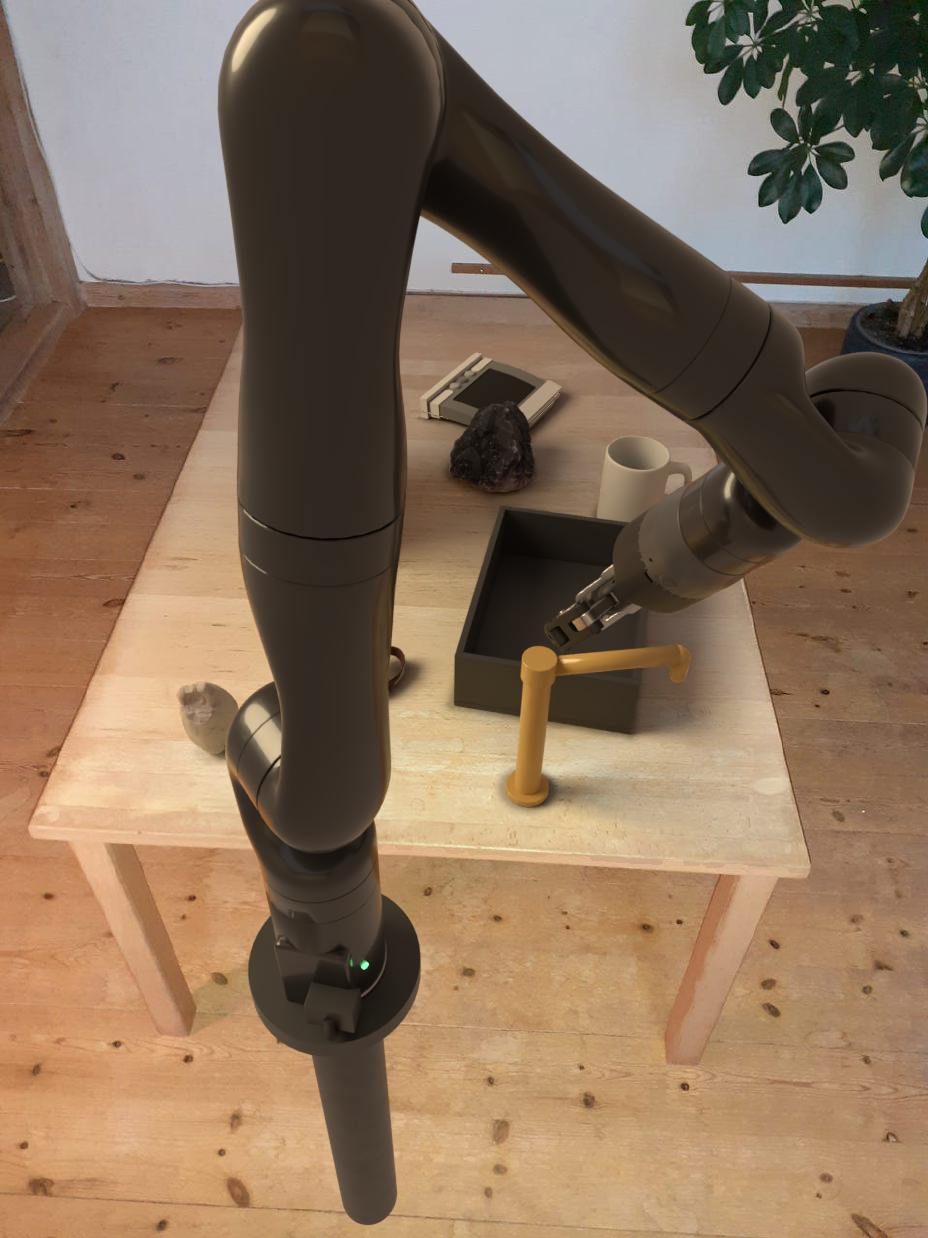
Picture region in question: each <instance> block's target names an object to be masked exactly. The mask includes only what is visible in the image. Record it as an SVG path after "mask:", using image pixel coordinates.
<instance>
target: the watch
mask: <svg viewBox="0 0 928 1238" xmlns="http://www.w3.org/2000/svg"><path fill="white" fill-rule="evenodd" d="M390 656H391V657H395V658H396V659H398V660H399V662H400V664H401V668H400V670H399V672H398V673H397V674H396V675H395V676H393V677H392V678H391V679H389V690H391V689H392V688H393V687H395V685H396V683H397V682H398V680H399V679H400V678H401V676H402V673H403V671H404V666H405V663H406V657H405V654H404V652H403V650H402V649H401V648H399V647H397V646H394V645H391V655H390Z"/></svg>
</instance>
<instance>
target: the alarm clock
mask: <svg viewBox="0 0 928 1238" xmlns="http://www.w3.org/2000/svg"><path fill="white" fill-rule="evenodd" d="M560 390H561V392H560V393H559V394H558V395H557V396H556V397H554V396H555V395H556V394H557V393H558V392H559V391H560ZM562 390H563V386H562V385H560V384H558V383H556V382H554V381H552V380H550V379H547V380H546V381H545V380H544V379H542V378H540V377H538V376H536V375H535V374H533V373H530V372H527V371H525V370H523V369H521V368H518V367H515V366H512V365H510V364H507V363H503V362H500V361H496V360H493V358H489V357H483V353H480V352H474V353H473V354H471V355H470V356H469V357H468V358H466V360H464V361H463V362H462V363H460V364H459V365H458V366H457V367H455V369H453V370H452V371H451V372H450V373H448V374H447V375H446V376H445V377H444V378H442V379H441V380H440V381H438V382H437V383H436V384H435V385H434V386H432V387H431V388H430V389H428V390H427V391H426V392H425V393H424V394H422V395H421V396H420V397H419V407H420V416H421V418H422V419H425V420H429V419H431V418H436V419H442V418H441V417H436V416H433V415H431V414H429V413H428V412H430V413H433V414H434V415H438V416H443V417H444V418H443V419H445V418H448V419H447V420H449V419H450V421H454V422H457V423H459V424H462V425H467V426H469V425H470V422H471V420H472V418H473V416H474V415H475V413H476V412H477V411H478V410H479V409H480V408H483V407H488V406H490V405H491V404H501V405H502V404H503V403H504V402H506V401H510V402H514V403H515V404H516V405H517V406H518V407H519V409H520V410H521V411H522V412H523V413H524V415H525V416H526V418H527V421H528V423H529V430H530V429H531V428H532V427H533V426H534V425H535V424H536V423H537V422H538V421H539V420H540V419H542V417H543V416H544V415H546V413H548V411H549V410H551V408H553V406H554V405H555V402H556V401H557V400H558V399H559V398H560V396H561V393H562ZM554 400H555V401H554ZM553 401H554V402H553ZM552 402H553V403H552ZM551 403H552V404H551ZM550 404H551V405H550ZM549 405H550V406H549ZM548 406H549V407H548ZM547 407H548V408H547ZM546 408H547V409H546ZM545 409H546V410H545ZM544 410H545V411H544ZM421 411H424V412H426V413H428V414H426V413H423V412H421ZM543 411H544V412H543ZM542 412H543V413H542ZM541 413H542V414H541ZM540 414H541V415H540ZM539 415H540V416H539ZM538 416H539V417H538ZM537 417H538V418H537ZM536 418H537V419H536ZM535 419H536V420H535ZM534 420H535V421H534ZM533 421H534V422H533ZM532 422H533V423H532Z"/></svg>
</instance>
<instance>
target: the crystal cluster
mask: <svg viewBox="0 0 928 1238" xmlns="http://www.w3.org/2000/svg"><path fill="white" fill-rule="evenodd" d="M531 443H532V436H531V434H530V429H529V423H528V421H527V418H526V416H525V415H524V413H523V412H522V411H521V410H520V409H519V407H518V406H517V405H516V404H515V403H514V402H510V401H506V402H504V403H503V404H502V405H501V404H491V405H490V406H488V407H483V408H480V409H479V410H478V411H477V412H476V413H475V415H474V416H473V418H472V420H471V422H470V425H468V427H467V428H466V429H465V430H464V431H463V432H462V434H461V436H460V437H458V438H457V439H456V440H454V443H453V446H452V449H451V450H450V454H449V457H450V460H449V465H448V469H449V473H450V476H451V477H452V478H454V479H458V480H461V481H462V482H465V483H466V484H467V485H470V486H473V487H475V488H477V489H480V490H481V491H483V492H487V493H493V492H494V493H495V492H496V493H497V492H498V493H509V492H512V491H517V490H521V489H523V488H524V487H525V486H527V485H528V483H529V482H530V481H531V480H532V479H533V478H534V474H535V467H536V465H535V464H536V463H535V457H534V453H533V448H532V444H531Z"/></svg>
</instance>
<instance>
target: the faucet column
mask: <svg viewBox="0 0 928 1238" xmlns="http://www.w3.org/2000/svg"><path fill="white" fill-rule="evenodd" d="M550 694H551V686H550V687H548V688H544V689H534V688H531V687H528V686H527V685H525V684H524V683H523V691H522V703H521V715H520V716H519V717H520V718H519V727H518V728H519V729H518V738H517V750H516V751H517V753H516V761H515V762H516V764H515V770H514V771H512V772H511V773H510V774H509V775H508V777H507V778H506V781H505V793H506V796H507V797H508V799H509V800H510V801H511V802H512V803H514V804H515V805H517V806H519V807H526V808H531V807H537V806H539V805H540V804H542V803H543V802H544V801H545V800H547V797H548V795H549V790H550V784H549V781H548V779H547V777H546V776H545V775H544V774H543V763H544V756H545V746H546V737H547V730H548V729H547V727H548V721H547V720H548V711H549V702H550Z"/></svg>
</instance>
